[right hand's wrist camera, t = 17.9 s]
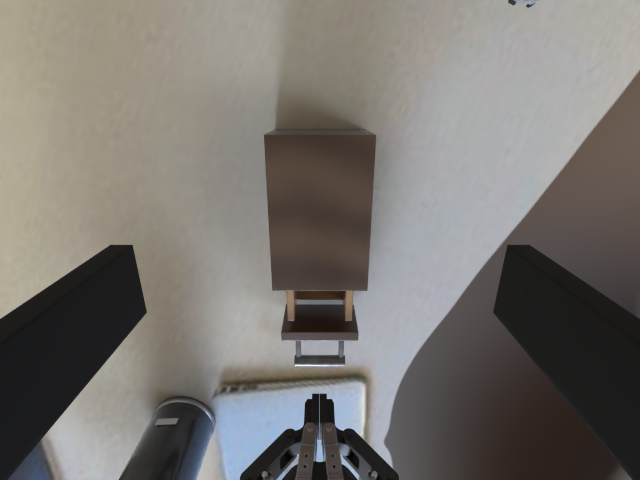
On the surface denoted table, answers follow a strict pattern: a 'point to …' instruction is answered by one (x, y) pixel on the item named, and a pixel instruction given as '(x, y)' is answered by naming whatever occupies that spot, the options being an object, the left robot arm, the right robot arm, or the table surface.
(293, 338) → the drawer
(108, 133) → the table surface
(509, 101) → the table surface
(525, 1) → the robot
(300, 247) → the cabinet
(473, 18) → the table surface
